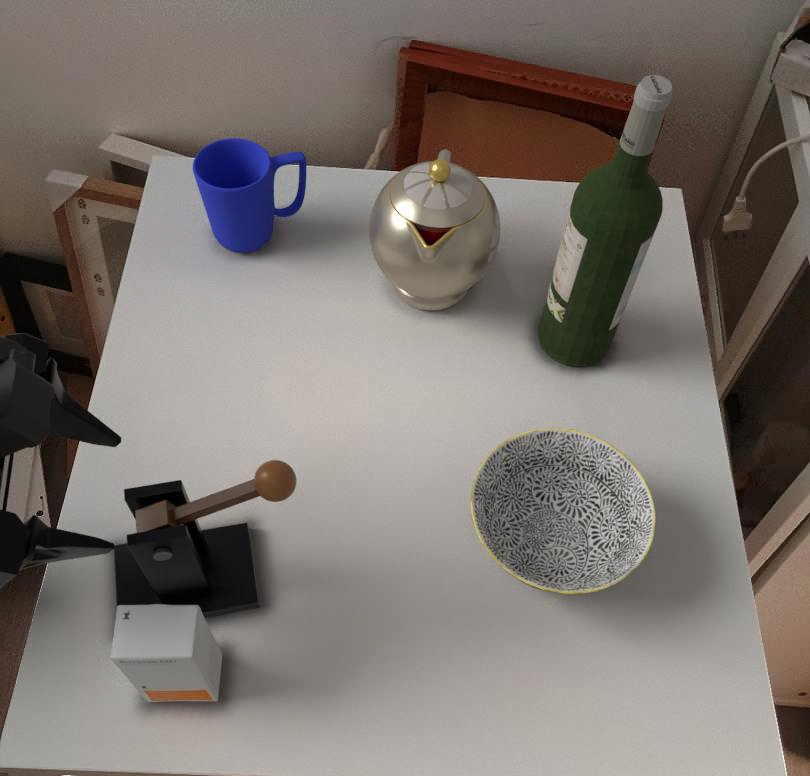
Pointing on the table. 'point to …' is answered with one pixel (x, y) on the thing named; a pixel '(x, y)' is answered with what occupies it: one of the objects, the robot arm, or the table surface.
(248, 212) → the mug
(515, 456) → the bowl
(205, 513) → the lever
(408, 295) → the teapot
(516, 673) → the table surface
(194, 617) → the cosmetic box
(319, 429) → the table surface
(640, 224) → the wine bottle
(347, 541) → the table surface
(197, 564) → the bracket
